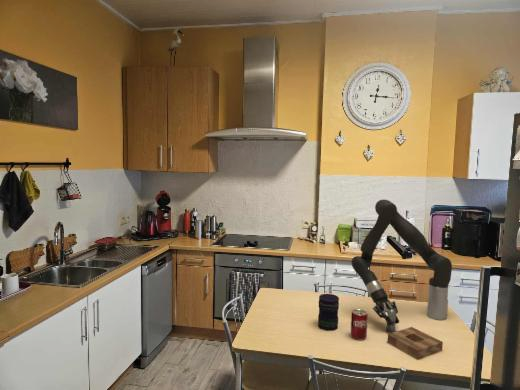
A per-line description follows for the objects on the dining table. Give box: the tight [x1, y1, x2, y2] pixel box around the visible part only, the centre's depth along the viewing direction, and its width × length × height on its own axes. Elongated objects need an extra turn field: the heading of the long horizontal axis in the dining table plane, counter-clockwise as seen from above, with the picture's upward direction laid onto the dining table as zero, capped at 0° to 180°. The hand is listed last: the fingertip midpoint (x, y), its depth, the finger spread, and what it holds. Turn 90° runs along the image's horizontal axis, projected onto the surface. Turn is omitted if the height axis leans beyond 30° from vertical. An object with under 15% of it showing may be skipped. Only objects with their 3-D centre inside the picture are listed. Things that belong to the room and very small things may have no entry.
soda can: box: [350, 308, 369, 341], centre depth 168 cm, size 7×7×12 cm
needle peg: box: [386, 308, 397, 334], centre depth 174 cm, size 4×4×11 cm
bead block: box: [386, 326, 444, 361], centre depth 160 cm, size 16×16×4 cm
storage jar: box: [317, 293, 340, 332], centre depth 178 cm, size 10×10×15 cm
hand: (394, 323), depth 172 cm, fingers closed on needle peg, 4 cm apart
